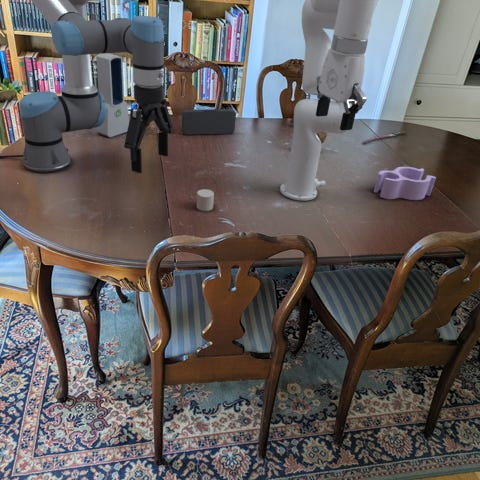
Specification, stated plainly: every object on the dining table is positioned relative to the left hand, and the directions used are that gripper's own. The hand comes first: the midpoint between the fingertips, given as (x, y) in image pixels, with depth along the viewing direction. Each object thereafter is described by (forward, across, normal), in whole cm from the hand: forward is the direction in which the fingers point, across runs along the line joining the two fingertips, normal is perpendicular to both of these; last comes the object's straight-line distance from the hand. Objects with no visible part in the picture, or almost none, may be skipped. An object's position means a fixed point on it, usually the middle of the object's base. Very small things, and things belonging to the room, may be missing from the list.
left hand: (150, 163), depth 129 cm
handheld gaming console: (+16, +71, +16) cm, 74 cm away
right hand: (-19, +6, -46) cm, 51 cm away
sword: (+16, +114, -53) cm, 127 cm away
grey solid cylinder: (+17, +13, -11) cm, 24 cm away
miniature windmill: (+16, +108, -14) cm, 110 cm away
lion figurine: (+16, +79, -26) cm, 85 cm away
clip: (+17, +60, -66) cm, 90 cm away
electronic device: (+15, +49, +48) cm, 70 cm away
